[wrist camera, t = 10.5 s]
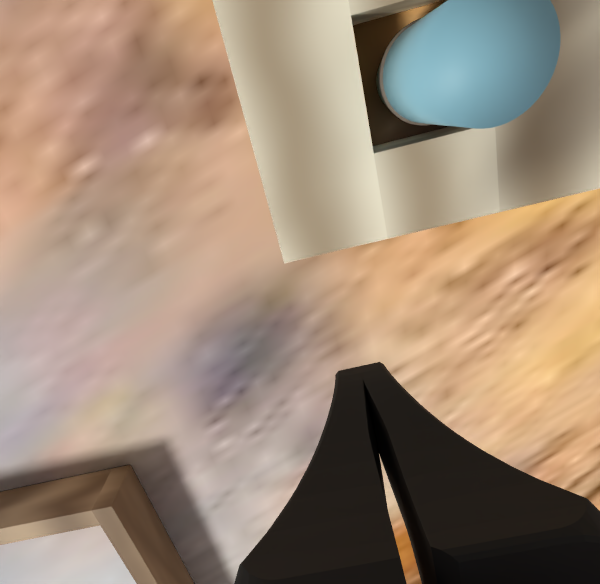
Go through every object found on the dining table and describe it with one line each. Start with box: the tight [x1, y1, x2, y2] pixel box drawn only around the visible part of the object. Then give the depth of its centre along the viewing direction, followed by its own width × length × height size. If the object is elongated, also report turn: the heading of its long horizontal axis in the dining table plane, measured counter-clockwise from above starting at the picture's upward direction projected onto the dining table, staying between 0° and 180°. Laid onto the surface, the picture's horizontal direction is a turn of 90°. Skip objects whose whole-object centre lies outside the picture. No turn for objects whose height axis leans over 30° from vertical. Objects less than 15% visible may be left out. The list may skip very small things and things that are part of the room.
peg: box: [376, 0, 561, 129], centre depth 14 cm, size 4×4×8 cm
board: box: [213, 0, 600, 263], centre depth 17 cm, size 14×12×2 cm
